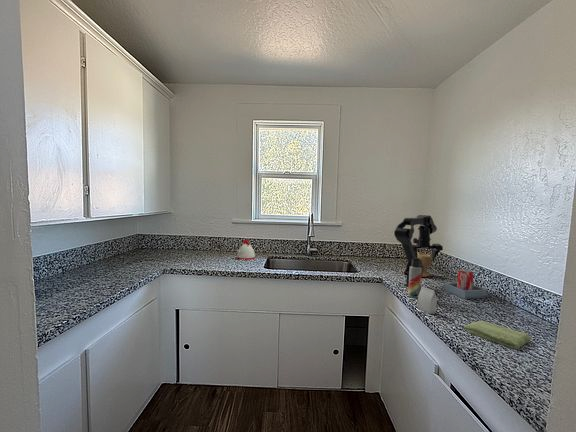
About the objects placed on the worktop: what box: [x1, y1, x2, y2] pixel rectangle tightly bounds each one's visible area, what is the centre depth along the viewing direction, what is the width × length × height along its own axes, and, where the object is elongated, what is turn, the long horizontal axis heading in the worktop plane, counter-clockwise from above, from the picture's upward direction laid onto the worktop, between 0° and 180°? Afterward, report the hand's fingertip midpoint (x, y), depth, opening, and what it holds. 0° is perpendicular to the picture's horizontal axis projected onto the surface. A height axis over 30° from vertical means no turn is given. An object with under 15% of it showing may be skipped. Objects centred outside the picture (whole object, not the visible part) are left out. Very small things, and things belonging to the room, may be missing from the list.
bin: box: [443, 282, 488, 300], centre depth 157 cm, size 14×14×4 cm
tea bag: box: [417, 286, 438, 315], centre depth 132 cm, size 4×7×10 cm, turn 24°
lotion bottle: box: [407, 258, 422, 299], centre depth 150 cm, size 6×6×20 cm
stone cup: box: [403, 251, 432, 278], centre depth 193 cm, size 15×12×15 cm
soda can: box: [456, 268, 474, 291], centre depth 156 cm, size 7×7×12 cm
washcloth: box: [463, 320, 532, 350], centre depth 109 cm, size 13×18×3 cm
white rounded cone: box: [236, 238, 256, 261], centre depth 230 cm, size 14×14×15 cm
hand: (424, 261), depth 175 cm, fingers open, 9 cm apart
